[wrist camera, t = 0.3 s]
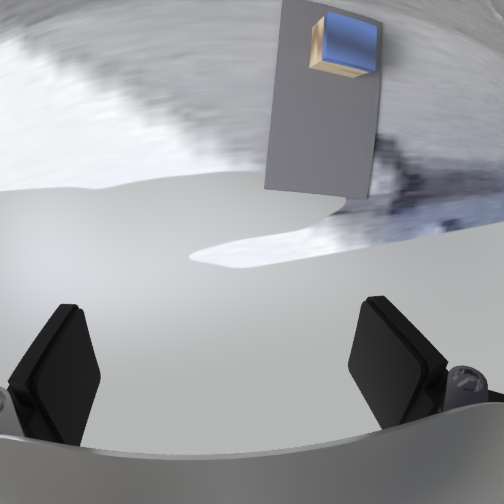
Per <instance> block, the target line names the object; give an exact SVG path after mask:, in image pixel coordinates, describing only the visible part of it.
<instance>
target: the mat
mask: <svg viewBox="0 0 504 504" xmlns="http://www.w3.org/2000/svg"><path fill="white" fill-rule="evenodd" d="M328 12H332V13H336V14H340V15H343V16H347V17H350V18H354V19H357V20H360V21H363V22H366V23H369V24H372V25H375V26H377V43H376V67H375V71H372V72H369V73H366V74H363V75H360V76H357V77H355V78H351V77H347V76H343V75H339V74H335V73H330V72H326V71H321V70H316V69H311V68H309V65H310V53H311V40H312V27H313V26H314V25H315V24H316V23H317V22H318V21H319V20H320V19H322V18H323V17H324V16H325V15H326V14H327V13H328ZM381 46H382V22H379V21H376V20H373V19H370V18H367V17H364V16H361V15H358V14H355V13H351V12H348V11H344V10H341V9H337V8H334V7H330V6H326V5H322V4H318V3H313V2H309V1H304V0H283V2H282V12H281V23H280V33H279V44H278V54H277V65H276V75H275V85H274V96H273V106H272V116H271V126H270V136H269V146H268V156H267V166H266V176H265V185H264V189H267V190H279V191H291V192H301V193H312V194H321V195H331V196H340V197H348V198H356V199H364V200H367V194H368V188H369V181H370V174H371V167H372V159H373V151H374V142H375V133H376V124H377V113H378V101H379V88H380V71H381Z"/></svg>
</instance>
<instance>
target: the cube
mask: <svg viewBox="0 0 504 504" xmlns="http://www.w3.org/2000/svg"><path fill="white" fill-rule="evenodd" d="M376 43H377V26H375V25H372V24H369V23H366V22H363V21H360V20H357V19H354V18H350V17H347V16H343V15H340V14H336V13H332V12H328V13H327V14H326V15H325V16H324V17H323V18H322V19H320V20H319V21H318V22H317V23H316V24H315V25H314V26H313V27H312V40H311V53H310V65H309V68H311V69H316V70H321V71H326V72H330V73H335V74H339V75H343V76H347V77H351V78H355V77H357V76H360V75H363V74H366V73H369V72H372V71H375V67H376Z"/></svg>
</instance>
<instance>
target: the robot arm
mask: <svg viewBox="0 0 504 504" xmlns="http://www.w3.org/2000/svg"><path fill="white" fill-rule="evenodd" d="M447 364H448V361H447V360H446V359H445V358H444V357H443V355H442V354H440V352H439V351H438V350H437V349H436V348H435V347H434V346H433V345H432V344H431V343H430V342H429V341H428V340H427V339H426V338H425V337H424V336H423V334H421V332H420V331H419V330H417V328H416V327H415V326H414V325H413V324H412V323H411V322H410V321H409V320H408V319H407V318H406V317H405V316H404V315H403V314H402V313H401V312H400V311H399V310H398V309H397V308H396V307H395V306H394V305H393V304H392V303H391V302H390V301H389V300H388V299H387V298H386V297H385V296H373V297H368V298H367V299H366V301H364V302H363V303H362V305H361V309H360V314H359V319H358V323H357V328H356V332H355V337H354V341H353V345H352V349H351V354H350V358H349V362H348V368H349V372H350V373H351V375H352V377H353V379H354V381H355V382H356V384H357V386H358V388H359V389H360V391H361V393H362V394H363V396H364V398H365V400H366V402H367V403H368V405H369V407H370V409H371V411H372V412H373V414H374V416H375V418H376V420H377V421H378V423H379V425H380V427H381V428H382V430H380V431H376V432H372V433H368V434H364V435H360V436H355V437H350V438H346V439H341V440H337V441H331V442H326V443H320V444H314V445H308V446H301V447H294V448H287V449H279V450H270V451H261V452H249V453H235V454H213V455H166V454H144V453H130V452H119V451H109V450H101V449H93V448H85V447H80V443H81V440H82V436H83V433H84V430H85V427H86V423H87V420H88V417H89V414H90V411H91V407H92V404H93V401H94V398H95V395H96V392H97V389H98V386H99V383H100V379H101V375H100V370H99V367H98V363H97V360H96V357H95V353H94V350H93V346H92V342H91V339H90V335H89V331H88V327H87V323H86V319H85V315H84V311H83V310H82V309H79V307H78V306H77V305H76V304H60V305H59V307H58V308H57V309H56V311H55V312H54V313H53V315H52V316H51V318H50V319H49V320H48V322H47V323H46V325H45V326H44V327H43V329H42V330H41V331H40V333H39V334H38V336H37V337H36V339H35V340H34V341H33V343H32V344H31V346H30V347H29V349H28V350H27V352H26V353H25V355H24V356H23V358H22V359H21V361H20V363H19V364H18V366H17V367H16V369H15V370H14V372H13V373H12V375H11V377H10V378H9V380H8V383H9V387H8V388H7V390H6V389H4V388H2V387H0V504H504V394H501V393H497V392H494V391H490V390H488V384H487V380H486V378H485V377H484V375H483V374H482V373H480V372H479V371H478V370H476V369H474V368H472V367H468V366H456V367H453V368H452V369H451V370H450V371H448V370H447V369H446V366H447Z"/></svg>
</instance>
